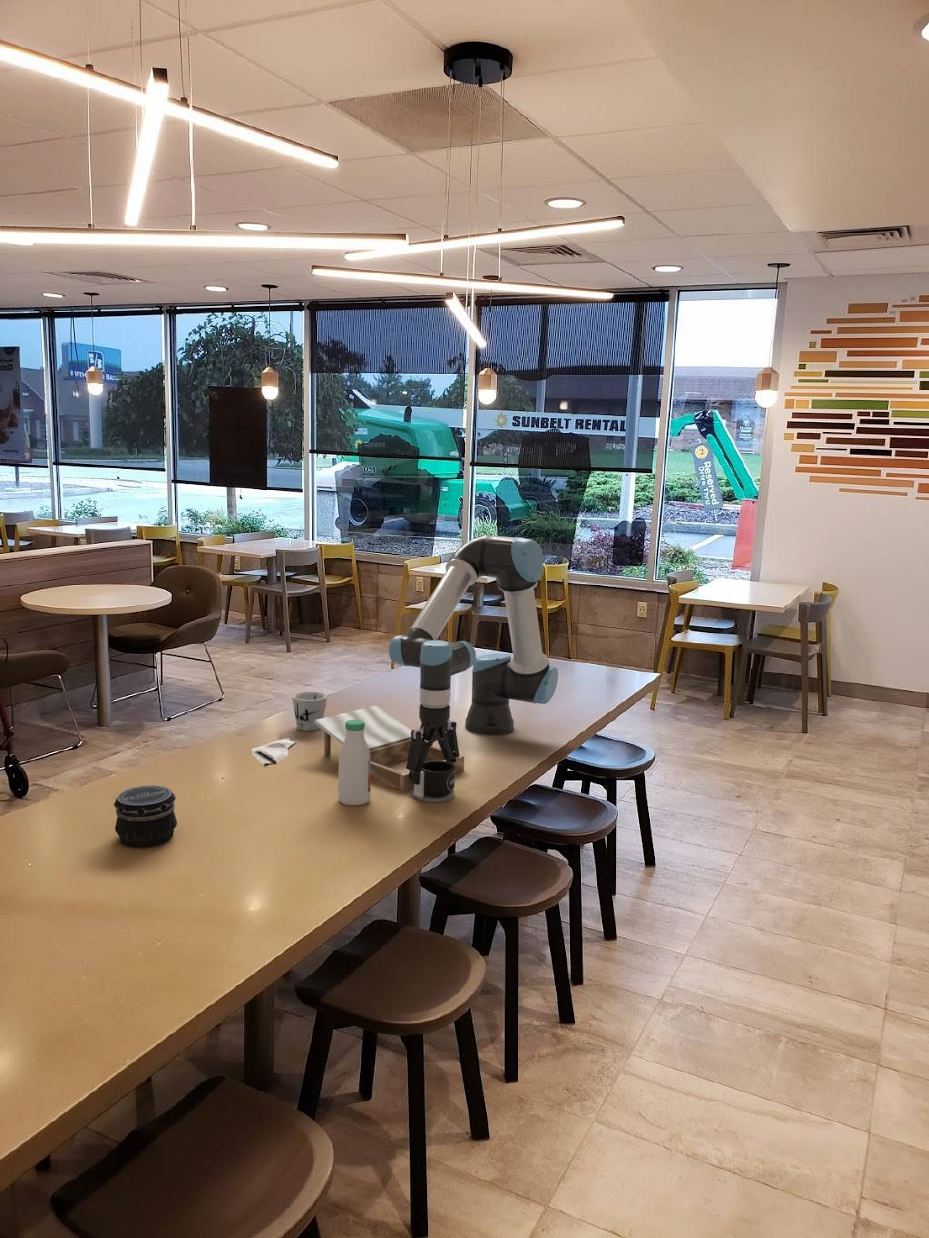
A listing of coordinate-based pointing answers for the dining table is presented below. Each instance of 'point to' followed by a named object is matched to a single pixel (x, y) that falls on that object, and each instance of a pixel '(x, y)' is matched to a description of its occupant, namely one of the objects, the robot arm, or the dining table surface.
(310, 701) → the mug
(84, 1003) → the dining table surface
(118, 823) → the container
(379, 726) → the box
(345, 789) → the milk bottle
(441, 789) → the mug
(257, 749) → the cloth
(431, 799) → the coaster
